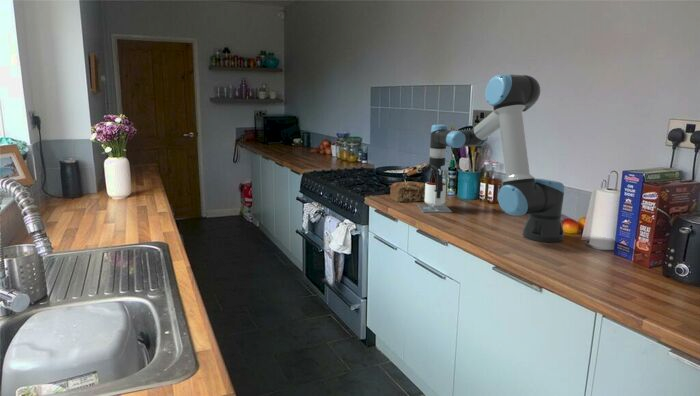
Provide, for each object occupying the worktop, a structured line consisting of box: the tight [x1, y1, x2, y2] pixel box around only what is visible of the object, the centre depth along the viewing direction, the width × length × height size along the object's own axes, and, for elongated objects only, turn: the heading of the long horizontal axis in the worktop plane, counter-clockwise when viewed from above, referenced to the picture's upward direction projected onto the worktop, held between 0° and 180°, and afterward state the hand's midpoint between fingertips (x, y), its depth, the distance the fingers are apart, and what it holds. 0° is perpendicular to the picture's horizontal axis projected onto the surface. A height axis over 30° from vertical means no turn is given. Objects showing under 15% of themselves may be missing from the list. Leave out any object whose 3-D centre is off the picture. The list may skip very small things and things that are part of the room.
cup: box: [424, 181, 447, 206], centre depth 229 cm, size 10×10×10 cm
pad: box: [417, 204, 453, 214], centre depth 231 cm, size 14×14×1 cm
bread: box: [389, 180, 425, 203], centre depth 250 cm, size 19×11×10 cm, turn 107°
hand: (434, 202), depth 230 cm, fingers closed on cup, 10 cm apart
